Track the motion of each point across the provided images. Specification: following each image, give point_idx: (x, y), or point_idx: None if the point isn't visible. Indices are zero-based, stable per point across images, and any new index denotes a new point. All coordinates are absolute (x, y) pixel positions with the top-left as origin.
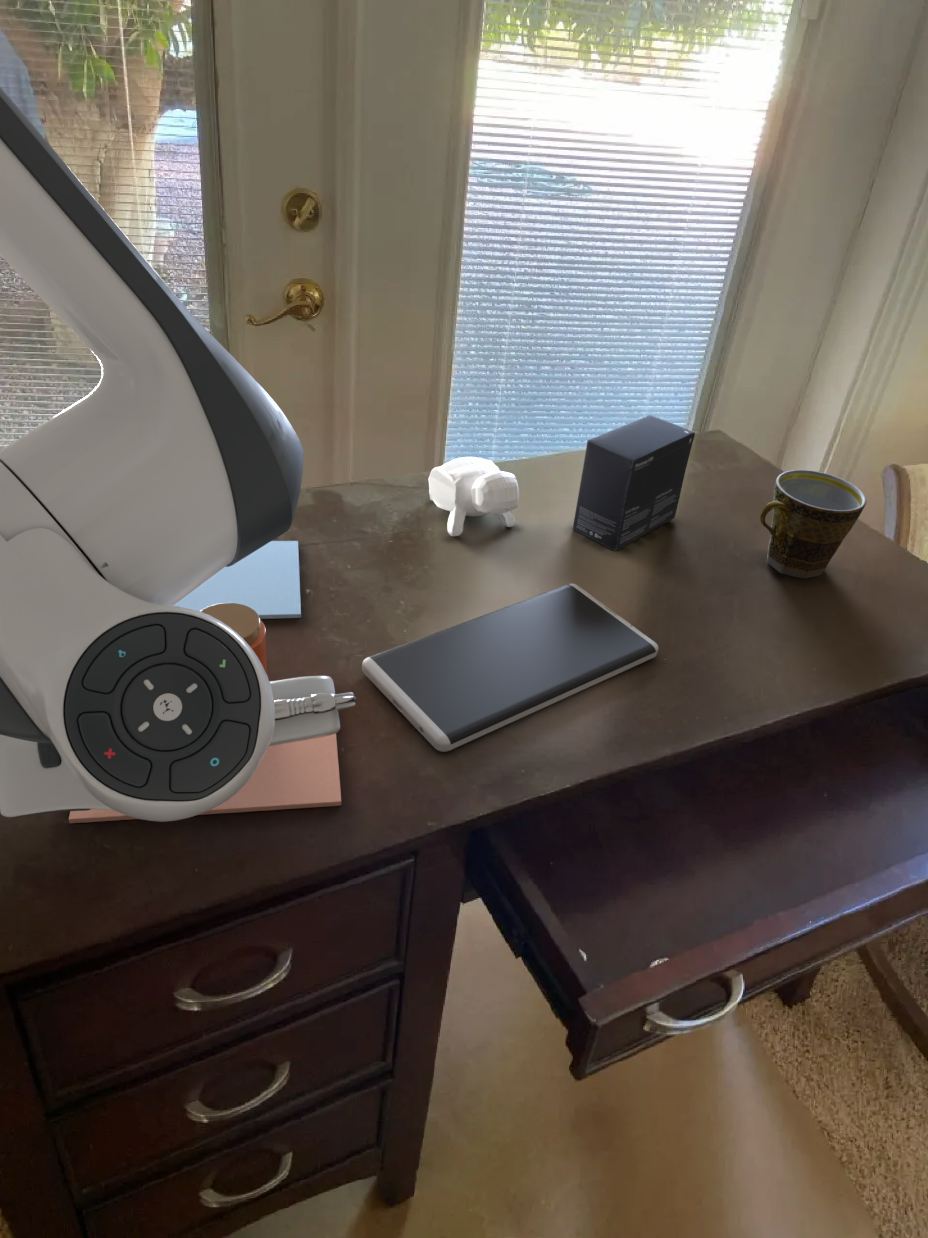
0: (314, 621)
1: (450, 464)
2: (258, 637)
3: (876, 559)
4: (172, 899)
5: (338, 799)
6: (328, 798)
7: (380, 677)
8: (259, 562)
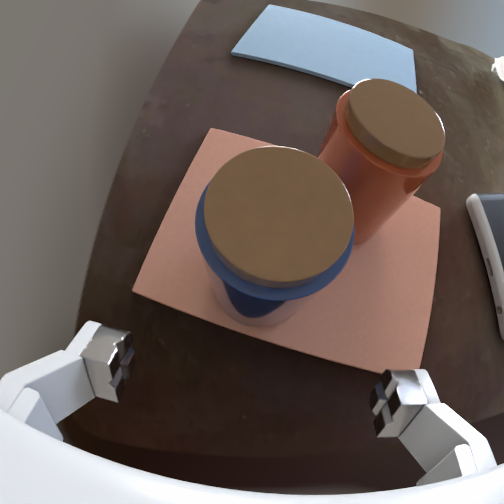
0: None
1: None
2: (435, 158)
3: None
4: (209, 442)
5: None
6: None
7: (484, 226)
8: (383, 52)
